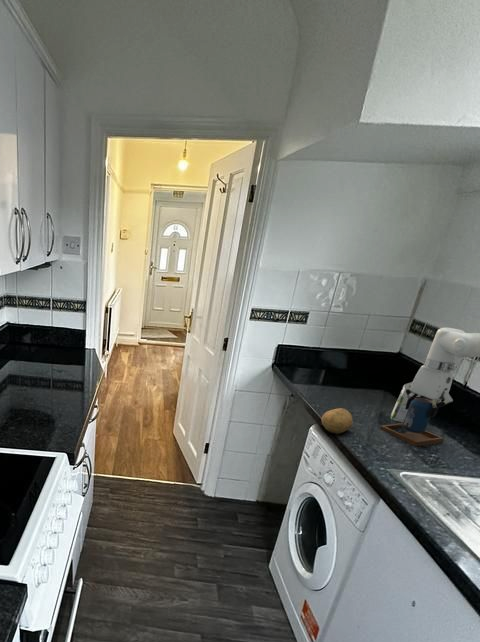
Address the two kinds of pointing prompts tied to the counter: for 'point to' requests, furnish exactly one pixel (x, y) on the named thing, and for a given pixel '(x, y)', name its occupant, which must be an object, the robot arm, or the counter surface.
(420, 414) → the soda can
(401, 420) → the syrup box
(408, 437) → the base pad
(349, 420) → the potato
